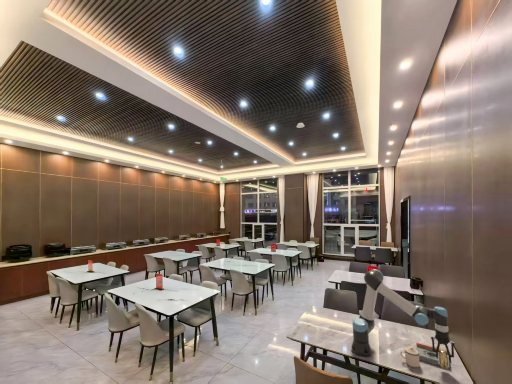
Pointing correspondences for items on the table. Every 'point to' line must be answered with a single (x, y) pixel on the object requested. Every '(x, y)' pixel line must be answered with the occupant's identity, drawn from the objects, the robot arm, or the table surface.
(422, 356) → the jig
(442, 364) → the brass cylinder
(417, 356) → the teacup with lid
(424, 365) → the table surface
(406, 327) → the table surface
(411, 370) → the table surface
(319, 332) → the table surface
